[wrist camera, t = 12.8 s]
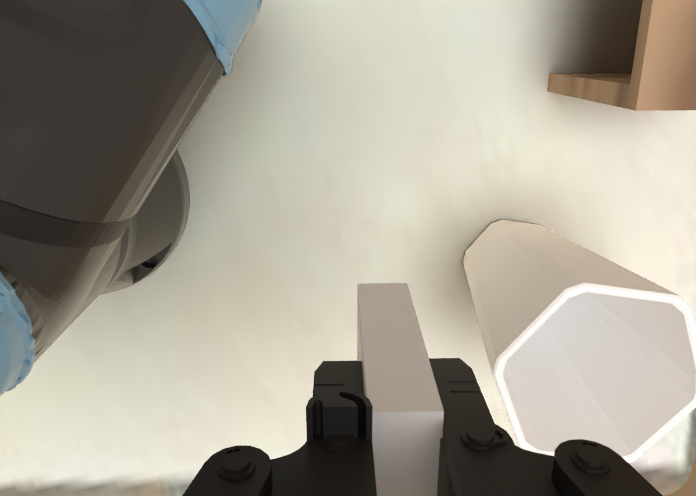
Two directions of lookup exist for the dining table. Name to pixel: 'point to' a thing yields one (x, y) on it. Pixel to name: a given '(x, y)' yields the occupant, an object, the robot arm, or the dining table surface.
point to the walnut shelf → (647, 64)
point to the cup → (579, 342)
